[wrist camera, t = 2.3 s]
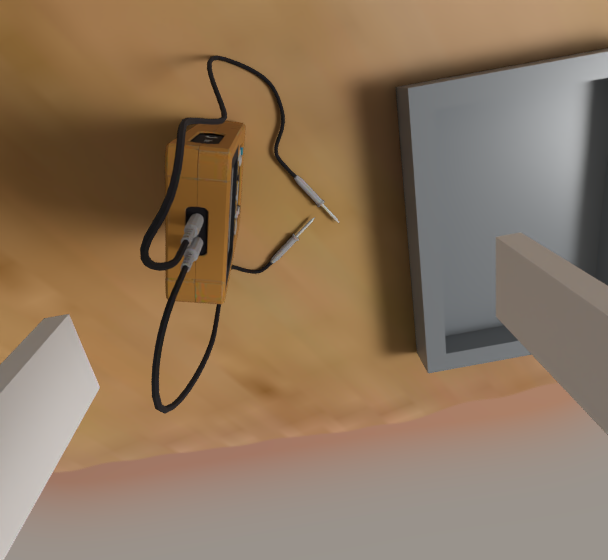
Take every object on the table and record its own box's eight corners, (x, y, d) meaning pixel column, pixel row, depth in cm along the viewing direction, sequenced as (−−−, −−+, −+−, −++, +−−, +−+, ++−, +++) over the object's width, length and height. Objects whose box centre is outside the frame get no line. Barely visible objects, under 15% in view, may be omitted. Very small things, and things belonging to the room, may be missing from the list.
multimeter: (330, 279, 36) (394, 487, 18) (199, 269, 35) (125, 480, 17) (361, 73, 30) (499, 69, 12) (205, 54, 29) (101, 17, 11)
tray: (416, 352, 39) (428, 373, 37) (395, 87, 31) (407, 88, 28) (631, 313, 39) (659, 331, 37) (670, 36, 31) (709, 32, 28)
